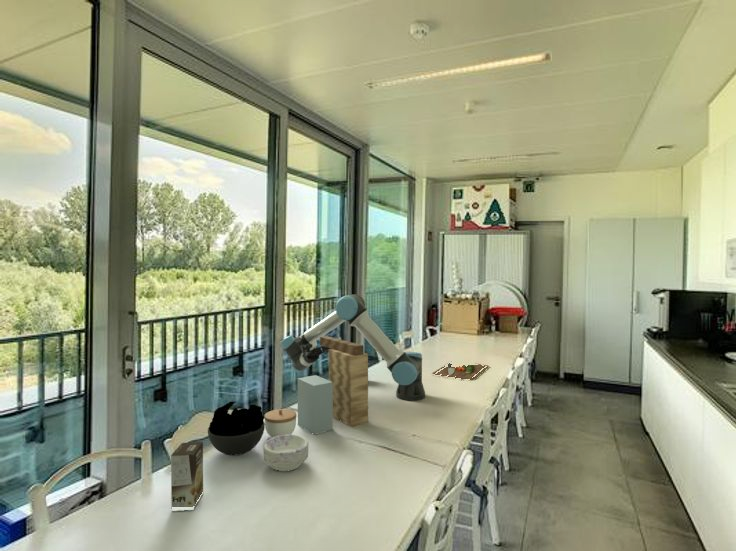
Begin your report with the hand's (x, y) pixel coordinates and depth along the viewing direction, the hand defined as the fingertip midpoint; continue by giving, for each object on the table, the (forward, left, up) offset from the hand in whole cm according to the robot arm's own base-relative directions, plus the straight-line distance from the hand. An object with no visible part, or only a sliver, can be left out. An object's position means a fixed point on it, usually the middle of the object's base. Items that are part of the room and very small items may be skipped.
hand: (328, 340), depth 207 cm
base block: (-6, +23, -33) cm, 40 cm away
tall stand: (-14, +8, -33) cm, 36 cm away
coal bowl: (+8, +56, -33) cm, 65 cm away
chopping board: (-44, -98, -33) cm, 113 cm away
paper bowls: (-14, +57, -33) cm, 67 cm away
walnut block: (-9, +5, -3) cm, 10 cm away
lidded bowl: (+2, +37, -33) cm, 49 cm away
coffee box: (-1, +88, -33) cm, 94 cm away
